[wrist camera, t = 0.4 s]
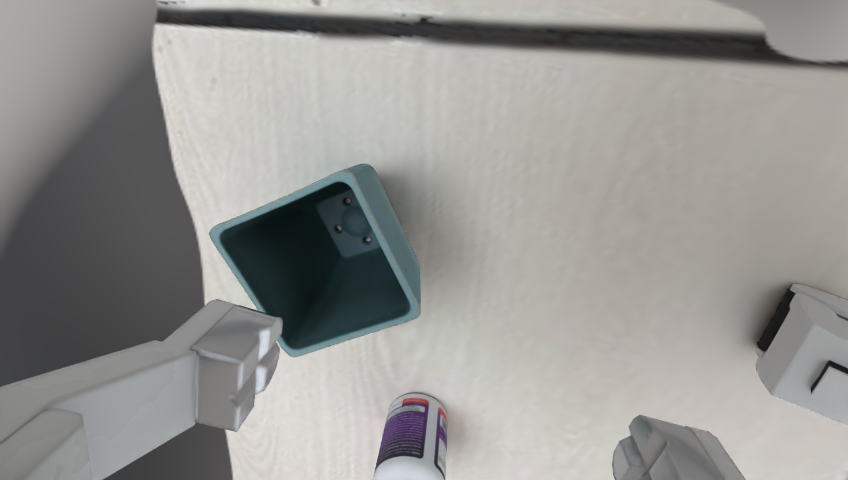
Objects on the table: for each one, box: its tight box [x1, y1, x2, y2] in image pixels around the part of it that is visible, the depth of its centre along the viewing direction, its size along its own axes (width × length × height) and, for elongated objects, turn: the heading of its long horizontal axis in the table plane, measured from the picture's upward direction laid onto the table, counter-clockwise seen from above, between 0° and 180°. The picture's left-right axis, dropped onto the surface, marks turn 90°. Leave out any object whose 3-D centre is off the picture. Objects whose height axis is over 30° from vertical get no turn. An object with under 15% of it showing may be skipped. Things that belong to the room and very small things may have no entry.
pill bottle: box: [373, 393, 448, 480], centre depth 31 cm, size 5×5×10 cm
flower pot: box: [209, 164, 421, 357], centre depth 25 cm, size 9×9×9 cm
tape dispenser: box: [755, 284, 848, 425], centre depth 25 cm, size 6×7×10 cm
